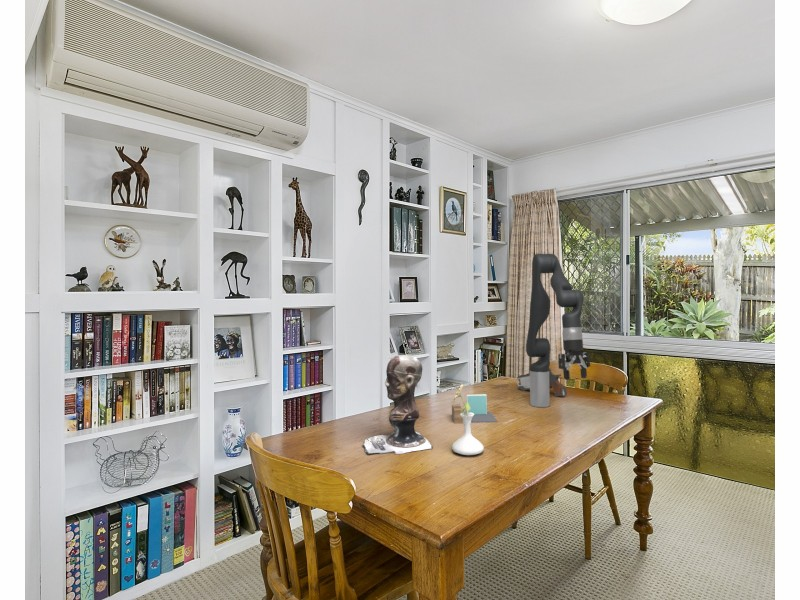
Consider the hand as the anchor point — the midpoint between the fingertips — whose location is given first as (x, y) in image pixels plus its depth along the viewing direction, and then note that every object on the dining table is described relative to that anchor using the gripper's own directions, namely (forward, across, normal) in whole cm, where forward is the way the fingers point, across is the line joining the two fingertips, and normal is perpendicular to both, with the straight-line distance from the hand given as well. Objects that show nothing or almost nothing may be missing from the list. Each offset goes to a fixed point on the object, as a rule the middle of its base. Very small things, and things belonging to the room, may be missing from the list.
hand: (575, 378), depth 181 cm
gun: (+14, -31, -60) cm, 69 cm away
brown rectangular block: (+18, +36, -36) cm, 54 cm away
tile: (+17, +24, -39) cm, 49 cm away
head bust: (+21, +72, -20) cm, 78 cm away
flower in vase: (+23, +52, 0) cm, 57 cm away
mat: (+18, +25, -35) cm, 47 cm away
